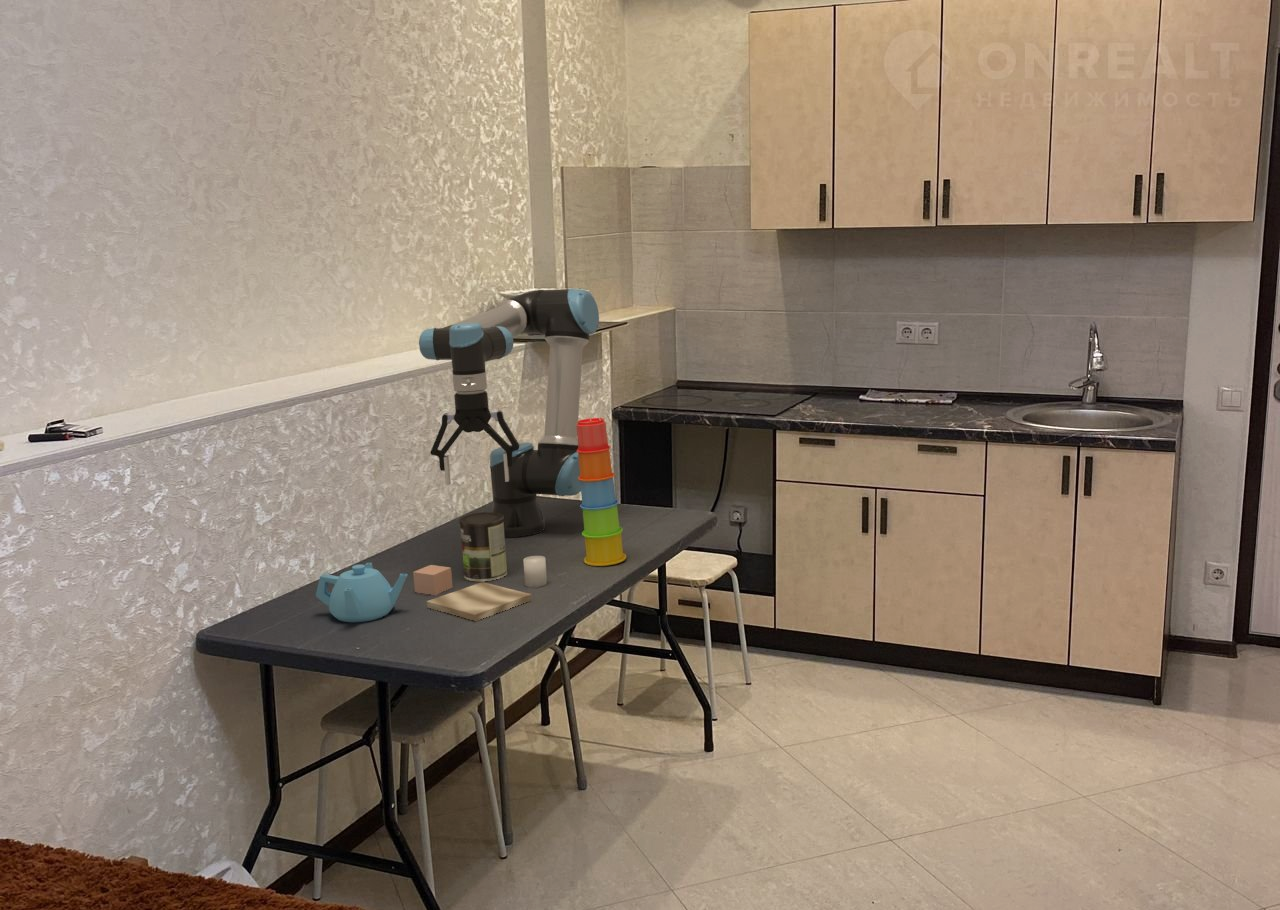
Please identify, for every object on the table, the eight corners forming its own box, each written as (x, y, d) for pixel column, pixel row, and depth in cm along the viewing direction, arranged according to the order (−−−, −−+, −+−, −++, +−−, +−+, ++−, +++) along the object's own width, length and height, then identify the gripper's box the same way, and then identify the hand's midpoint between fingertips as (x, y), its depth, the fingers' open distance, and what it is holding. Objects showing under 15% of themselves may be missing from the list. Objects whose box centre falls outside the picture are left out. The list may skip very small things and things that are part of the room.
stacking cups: (597, 569, 276) (589, 425, 269) (576, 560, 284) (567, 419, 277) (634, 561, 281) (627, 419, 274) (612, 552, 289) (604, 414, 283)
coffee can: (470, 585, 269) (465, 525, 266) (459, 573, 278) (454, 516, 276) (513, 577, 273) (509, 519, 270) (500, 566, 282) (496, 509, 279)
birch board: (483, 588, 266) (482, 582, 266) (531, 600, 255) (531, 594, 255) (427, 607, 254) (426, 601, 254) (475, 621, 244) (474, 614, 243)
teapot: (376, 597, 264) (371, 551, 262) (413, 611, 253) (408, 563, 251) (314, 615, 253) (309, 567, 251) (350, 630, 243) (345, 580, 241)
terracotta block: (432, 585, 270) (430, 564, 270) (452, 588, 267) (450, 567, 266) (415, 593, 266) (413, 572, 265) (435, 596, 262) (433, 575, 261)
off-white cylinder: (536, 579, 271) (534, 554, 269) (551, 583, 267) (549, 557, 266) (520, 585, 267) (518, 559, 266) (535, 588, 264) (533, 563, 263)
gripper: (413, 397, 263) (421, 489, 267) (524, 390, 264) (531, 482, 268) (417, 392, 270) (425, 481, 274) (526, 386, 271) (532, 475, 275)
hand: (477, 482), depth 271 cm, fingers open, 13 cm apart
